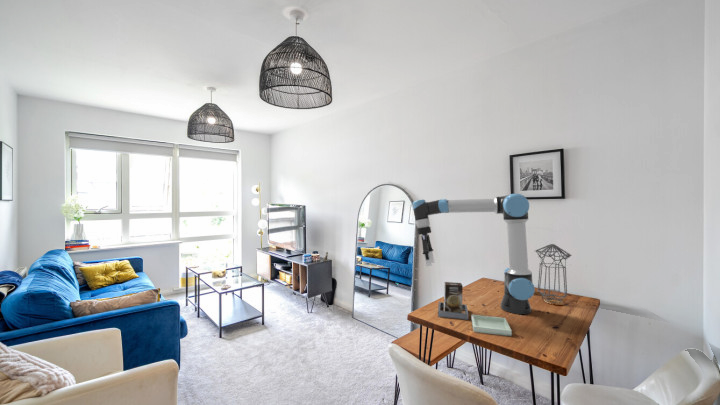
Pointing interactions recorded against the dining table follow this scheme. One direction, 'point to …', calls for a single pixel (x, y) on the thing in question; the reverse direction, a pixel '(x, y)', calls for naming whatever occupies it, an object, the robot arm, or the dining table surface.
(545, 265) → the geometric lantern
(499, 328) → the tray
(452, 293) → the coffee box
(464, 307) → the frame
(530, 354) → the dining table surface
